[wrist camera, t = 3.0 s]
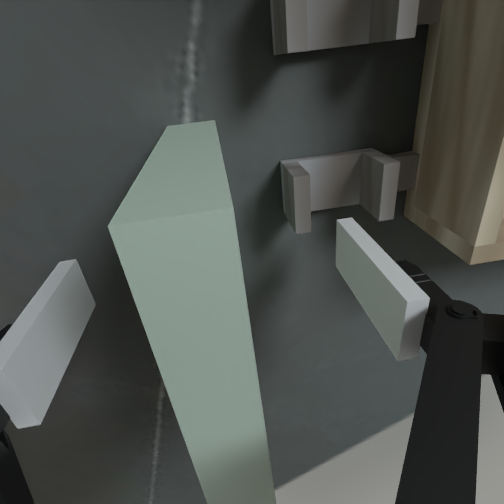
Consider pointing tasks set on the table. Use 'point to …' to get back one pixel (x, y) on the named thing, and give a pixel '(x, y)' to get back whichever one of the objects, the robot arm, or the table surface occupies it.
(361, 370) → the table surface
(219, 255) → the block
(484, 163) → the wooden divided box
